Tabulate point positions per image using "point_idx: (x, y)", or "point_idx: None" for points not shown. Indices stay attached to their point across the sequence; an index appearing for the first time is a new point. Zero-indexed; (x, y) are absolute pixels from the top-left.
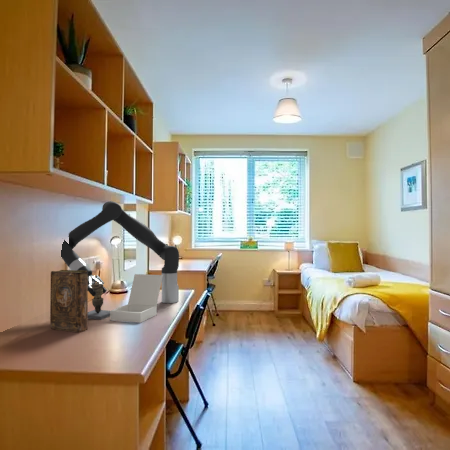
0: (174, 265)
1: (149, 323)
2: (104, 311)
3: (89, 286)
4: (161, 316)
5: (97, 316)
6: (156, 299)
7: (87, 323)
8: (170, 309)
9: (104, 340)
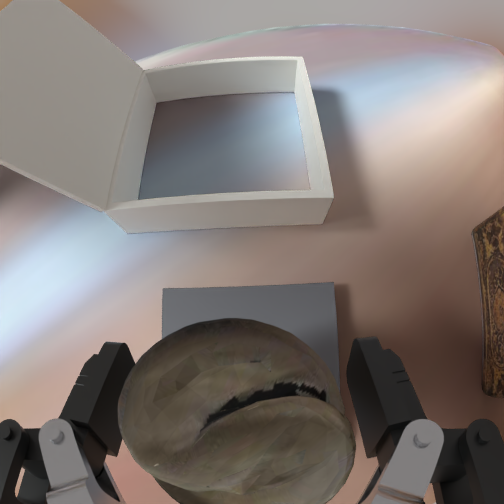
0: None
1: None
2: None
3: (437, 443)
4: None
5: (335, 310)
6: (121, 54)
7: (490, 216)
8: None
9: (488, 119)
